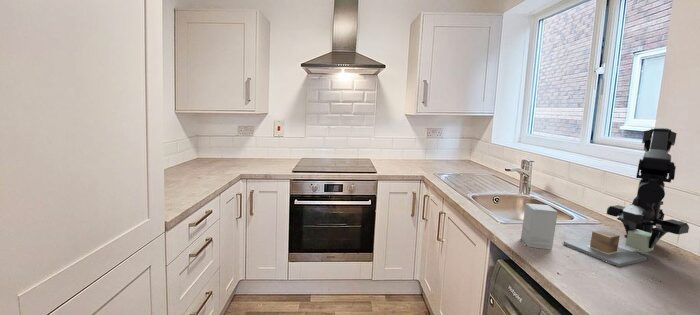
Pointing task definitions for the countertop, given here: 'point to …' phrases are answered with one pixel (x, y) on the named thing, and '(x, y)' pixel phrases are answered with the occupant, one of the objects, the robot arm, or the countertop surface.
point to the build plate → (614, 258)
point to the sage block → (639, 240)
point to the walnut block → (604, 241)
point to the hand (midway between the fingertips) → (639, 244)
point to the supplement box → (539, 226)
